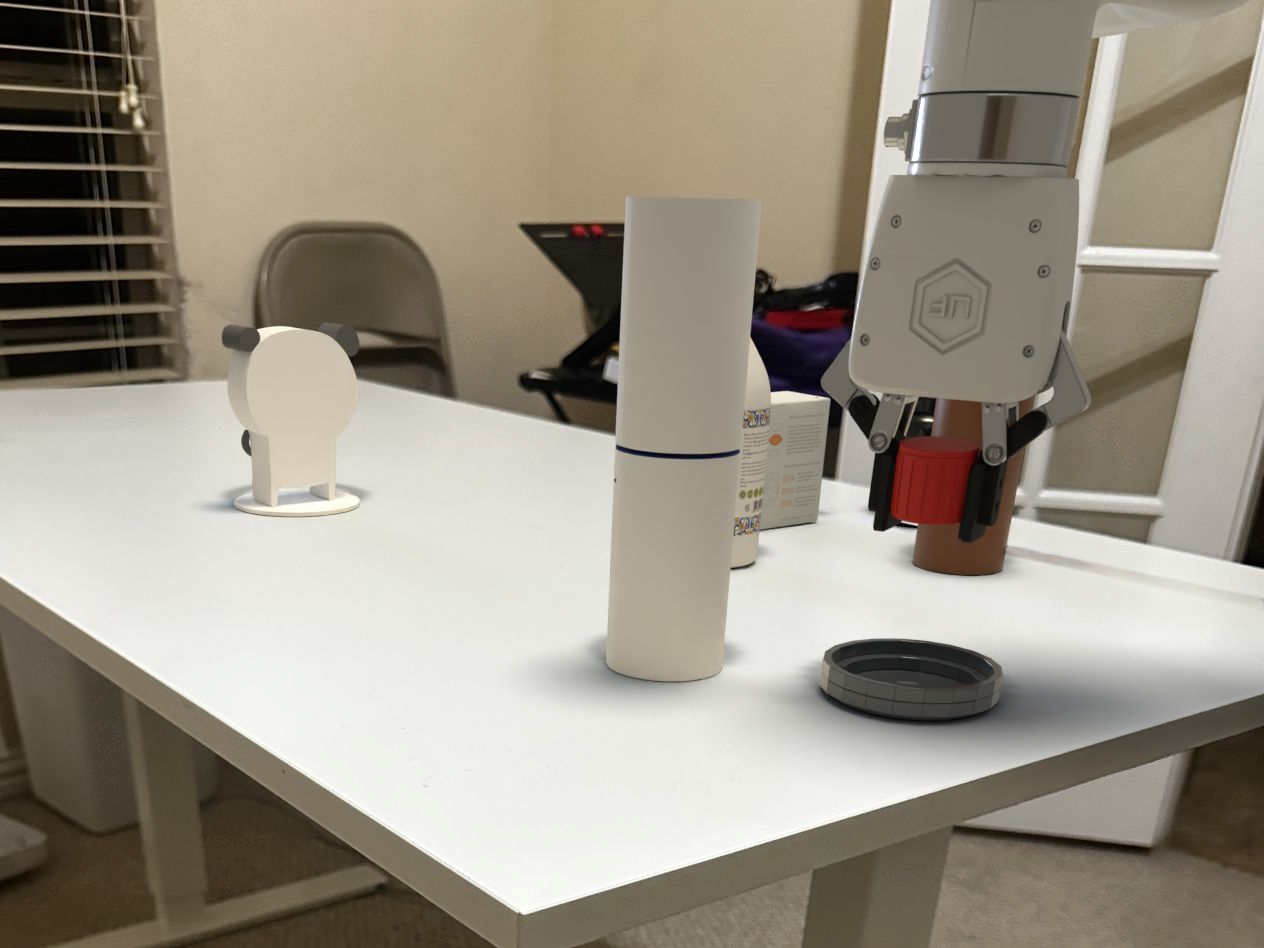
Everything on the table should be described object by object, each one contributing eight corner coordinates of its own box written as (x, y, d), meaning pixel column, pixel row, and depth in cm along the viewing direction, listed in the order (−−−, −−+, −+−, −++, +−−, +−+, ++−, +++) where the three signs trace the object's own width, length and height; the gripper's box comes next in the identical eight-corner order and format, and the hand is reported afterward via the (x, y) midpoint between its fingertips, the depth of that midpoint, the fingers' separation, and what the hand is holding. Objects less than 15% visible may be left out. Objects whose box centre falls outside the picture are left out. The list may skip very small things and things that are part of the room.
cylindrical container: (636, 686, 80) (662, 197, 68) (587, 652, 86) (603, 196, 74) (743, 674, 82) (787, 200, 70) (688, 642, 88) (721, 199, 76)
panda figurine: (327, 488, 133) (318, 318, 126) (389, 507, 125) (383, 327, 118) (213, 500, 127) (196, 321, 119) (271, 521, 119) (257, 331, 112)
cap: (894, 504, 76) (903, 434, 74) (971, 509, 75) (982, 438, 73) (886, 521, 73) (895, 449, 71) (966, 527, 72) (978, 454, 70)
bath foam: (757, 552, 112) (782, 279, 102) (756, 572, 106) (782, 284, 96) (672, 548, 113) (689, 277, 103) (666, 567, 107) (683, 281, 97)
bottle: (1020, 567, 109) (1072, 288, 99) (968, 579, 105) (1017, 290, 95) (946, 551, 114) (989, 283, 104) (894, 562, 110) (933, 284, 100)
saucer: (1031, 701, 79) (1037, 668, 78) (925, 737, 73) (931, 701, 72) (890, 660, 86) (895, 629, 85) (784, 690, 80) (787, 656, 79)
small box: (776, 512, 127) (788, 390, 122) (818, 522, 123) (833, 397, 118) (710, 520, 123) (719, 394, 118) (752, 531, 119) (764, 402, 114)
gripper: (798, 139, 67) (760, 524, 76) (1161, 141, 60) (1071, 567, 68) (849, 146, 73) (808, 504, 81) (1186, 149, 65) (1100, 541, 74)
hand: (929, 529), depth 75 cm, fingers closed on cap, 4 cm apart
